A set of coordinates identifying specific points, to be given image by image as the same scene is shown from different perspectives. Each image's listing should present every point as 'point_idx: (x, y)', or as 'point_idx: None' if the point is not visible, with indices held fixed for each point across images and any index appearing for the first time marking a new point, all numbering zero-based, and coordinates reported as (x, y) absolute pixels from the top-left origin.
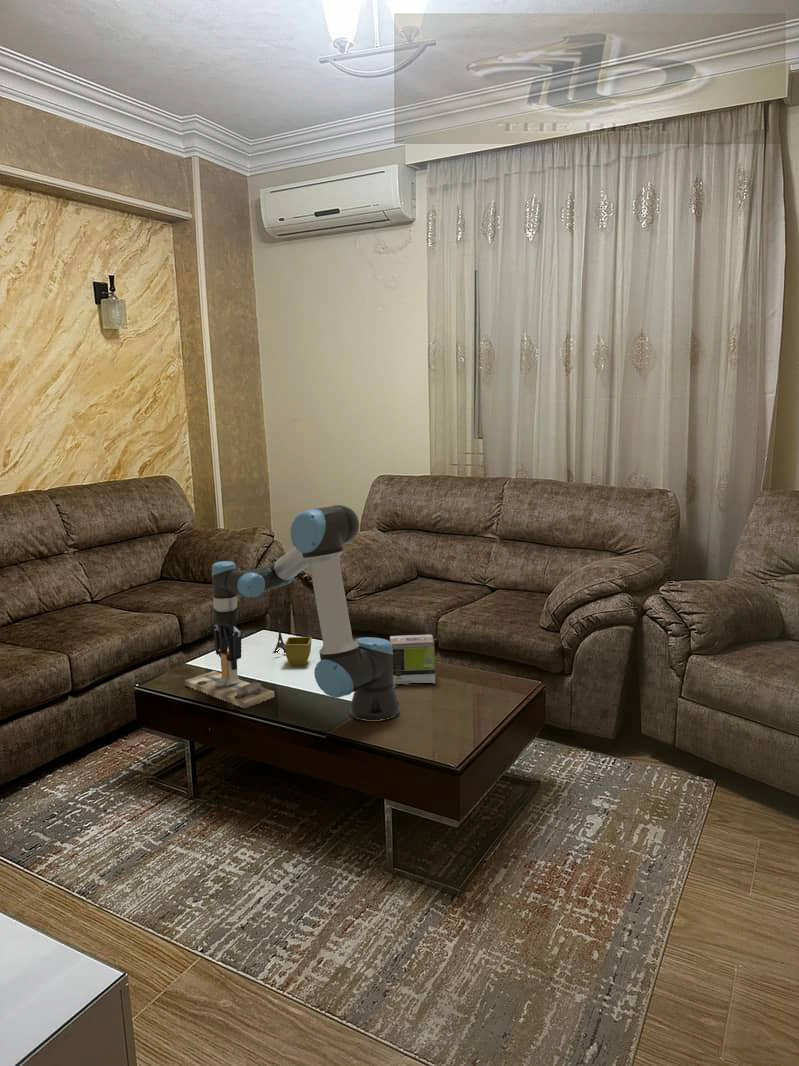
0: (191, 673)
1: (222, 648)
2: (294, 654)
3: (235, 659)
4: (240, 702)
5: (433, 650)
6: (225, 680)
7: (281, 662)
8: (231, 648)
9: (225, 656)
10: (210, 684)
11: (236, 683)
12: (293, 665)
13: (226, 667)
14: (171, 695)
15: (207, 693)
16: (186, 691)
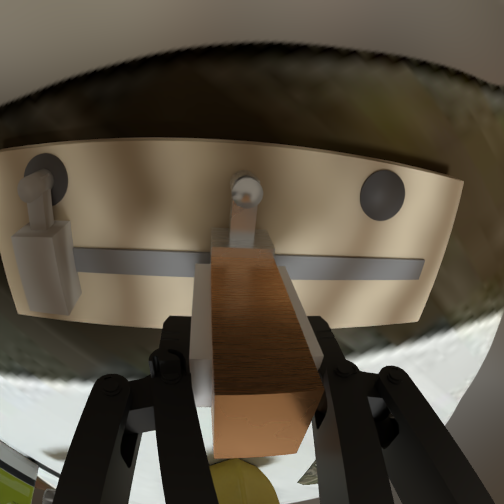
0: (480, 274)
1: (337, 445)
2: (220, 489)
3: (97, 381)
4: (11, 149)
5: None
6: (220, 241)
7: (283, 455)
8: (164, 486)
9: (230, 381)
10: (332, 206)
11: None
12: (229, 460)
13: (216, 303)
14: (423, 61)
15: (293, 146)
16: (407, 126)
